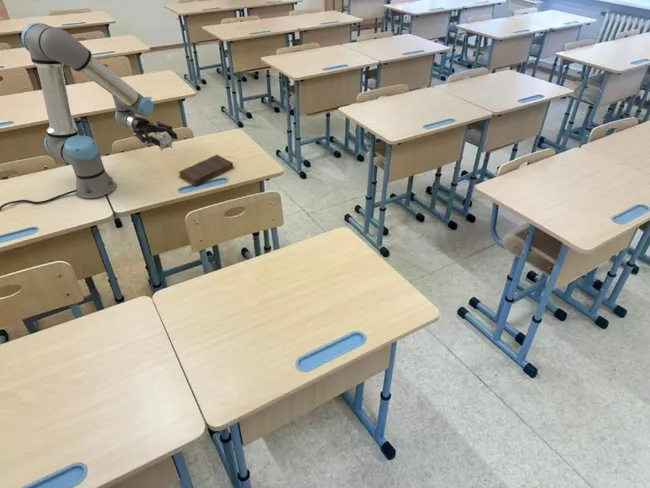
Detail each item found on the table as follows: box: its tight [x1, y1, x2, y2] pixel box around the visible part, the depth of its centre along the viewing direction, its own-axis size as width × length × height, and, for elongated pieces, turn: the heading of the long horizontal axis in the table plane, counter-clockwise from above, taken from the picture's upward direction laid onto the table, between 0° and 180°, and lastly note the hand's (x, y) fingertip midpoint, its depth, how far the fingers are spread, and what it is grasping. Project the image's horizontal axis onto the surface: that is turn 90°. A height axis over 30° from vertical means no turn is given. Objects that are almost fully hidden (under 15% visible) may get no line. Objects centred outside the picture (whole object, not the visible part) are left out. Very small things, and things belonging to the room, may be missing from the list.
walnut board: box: [178, 154, 234, 187], centre depth 212 cm, size 22×12×3 cm, turn 139°
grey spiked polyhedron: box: [154, 130, 176, 152], centre depth 202 cm, size 9×8×10 cm
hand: (167, 139), depth 198 cm, fingers closed on grey spiked polyhedron, 8 cm apart
